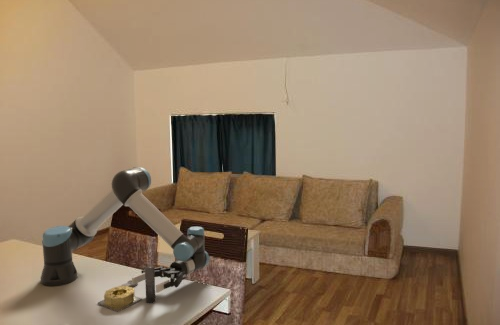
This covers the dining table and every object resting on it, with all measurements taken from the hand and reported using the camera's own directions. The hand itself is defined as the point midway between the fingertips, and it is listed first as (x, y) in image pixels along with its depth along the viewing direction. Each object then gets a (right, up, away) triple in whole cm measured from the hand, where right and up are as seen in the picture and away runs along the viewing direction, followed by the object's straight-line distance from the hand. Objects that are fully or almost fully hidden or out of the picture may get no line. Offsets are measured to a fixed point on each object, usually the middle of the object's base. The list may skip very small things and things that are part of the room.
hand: (144, 285), depth 157 cm
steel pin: (+2, -8, +3) cm, 8 cm away
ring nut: (-10, -8, +3) cm, 13 cm away
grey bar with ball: (-13, -6, +16) cm, 21 cm away
